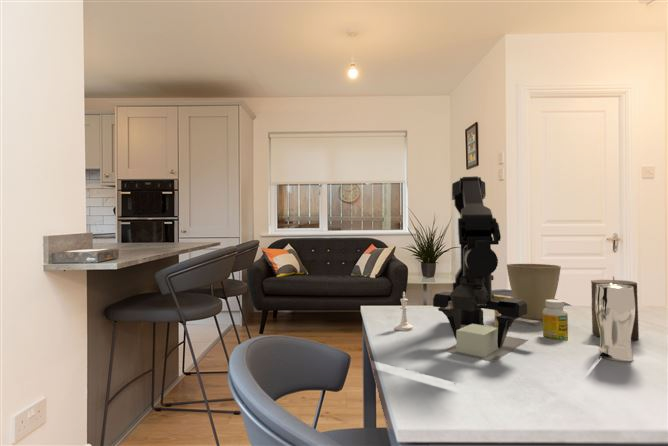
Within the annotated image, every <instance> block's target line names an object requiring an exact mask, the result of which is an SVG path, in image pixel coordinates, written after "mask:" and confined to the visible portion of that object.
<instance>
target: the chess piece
mask: <svg viewBox="0 0 668 446" xmlns="http://www.w3.org/2000/svg"><path fill="white" fill-rule="evenodd" d="M408 300H409V299H408V298H406V292H405V291H403V292H402V298H400V303H401V306H400V310H401V311H402V312H401V319H400V320H401V321H400V322H399V323H398V324H396V325H395V328H394V329H395V330H397V331H402V332H409V331H413V330H414V326H413V325H412V324H410V323H409V322H408V319H407V317H408V316H407V310H409V308H408V307H407V304H408Z"/></svg>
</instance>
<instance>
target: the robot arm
mask: <svg viewBox="0 0 668 446" xmlns="http://www.w3.org/2000/svg"><path fill="white" fill-rule="evenodd" d="M481 178H482V177H480V176H462V177H459V180H456V181H455V182H453V183H452V184H451V201H454V207H455V209H456V210H457V212H458V213H459V214H458V215H460V217H458V218H457V235H458V237H457V238H458V243H459V244H458V245H460V268H459V269H458V271H457V272H456V274H455V275H454V282H452V291H451V292H450V291H440V292H437V293H435V294H434V295H433V297H432V307H434V308H437V310H438V311H439V312H442V313H443V315H445V316H446V318H447V320H448V322H449V325H450V327H451V331H452V333H453V336H454V339H455V340H456V330H458V329H461V328H462V326H468V325H470V324H478V325H484V326H485V323H484V310H491V311H494V310H498V312H499V313H500V316H498V317H497V321H498V338H497V343H498V348H501V347H502V345H503V343H504V340H505V338H506V336H508V332H509V330H510V329H511V326H512V324H514V323H513V321H514V320H515V319H517V318H522V317H521V316H523V315H525V314H527V304H526V302H525V301H524V300H519V299H510V298H506V299H503V300H501V301H492V299H494V295H495V294H493V293H492V292H493V291H492V287H493V286H492V281H494V279H495V277H494V275H492V273H494V272H495V271H496V270H497V267H498V266H499V265H498V264H499V258H498V255H497V253H496V252H495V251H494V250H492V248H491V245H496V246H497V245H499V242H500V241H501V238H502V236H501V231H500V224H499V223H498V222H497V219H496V217H493V212H492V209H490V208H489V207H487V206H485V204H484V201H483V200H485V198H486V196H487V194H486V182H485V181H483V180H482V179H481ZM485 304H486V305H485ZM483 309H484V310H483ZM461 325H462V326H461Z"/></svg>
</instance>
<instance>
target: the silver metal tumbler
mask: <svg viewBox="0 0 668 446" xmlns="http://www.w3.org/2000/svg"><path fill="white" fill-rule="evenodd" d="M633 288H634V287H633V286H628V285H620V284H597V285H596V294H595V310H596V317H597V322H598V326H599V331H600V337H599V338H600V342H599V348H598V351H600V352H601V353H600V354H599V356H598V357H600V358H602V359H605V360H608V361H614V362H622V363H623V362H626V363H627V362H631V361H634V353H633V350H632V343H631V342H632V341H631V334H632V329H633V324H634V318H635V298H634V289H633Z"/></svg>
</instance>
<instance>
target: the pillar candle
mask: <svg viewBox="0 0 668 446" xmlns="http://www.w3.org/2000/svg"><path fill="white" fill-rule="evenodd" d="M590 281H591V282H590V283H591V284H590V285H591V323H592V324H591V325H592V326H591V327H592V329H591V330H592V332H591V333H592V335H594V336H596V337H598V338H600V331H599V326H598V322H597V317H596V310H595V294H596V285H597V284H620V285H628V286H633V287H634V288H633V289H634V298H635V318H634V324H633V329H632V334H631V342H632V341H633V342H635V341H637V340H639V338H640V336H639V335H640V332H639V305H638V304H639V303H638V298H639V297H638V283H637V282H636V281H630V280H621V279H615V276H612V279H593V280H590Z"/></svg>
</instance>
